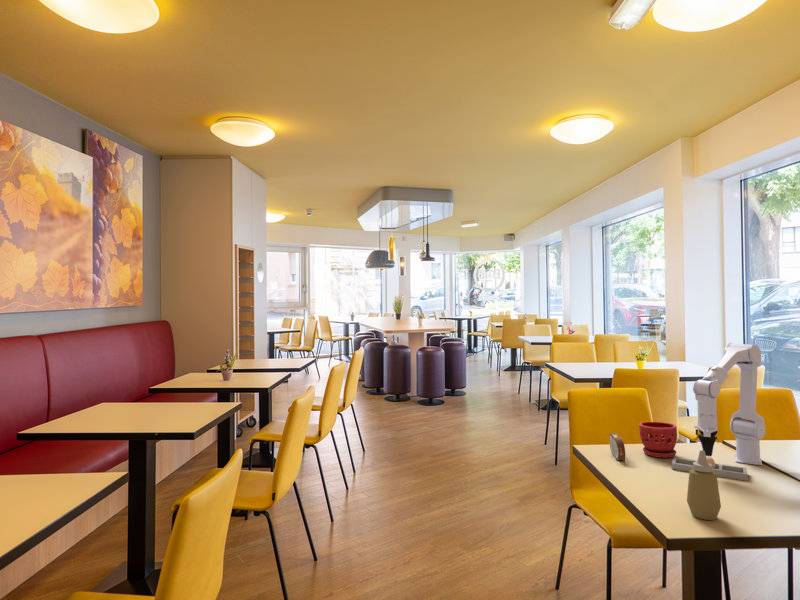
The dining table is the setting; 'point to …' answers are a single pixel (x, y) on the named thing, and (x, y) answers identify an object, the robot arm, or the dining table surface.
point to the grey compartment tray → (719, 469)
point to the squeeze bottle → (703, 490)
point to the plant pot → (658, 438)
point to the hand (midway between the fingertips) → (708, 453)
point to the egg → (711, 461)
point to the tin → (617, 446)
